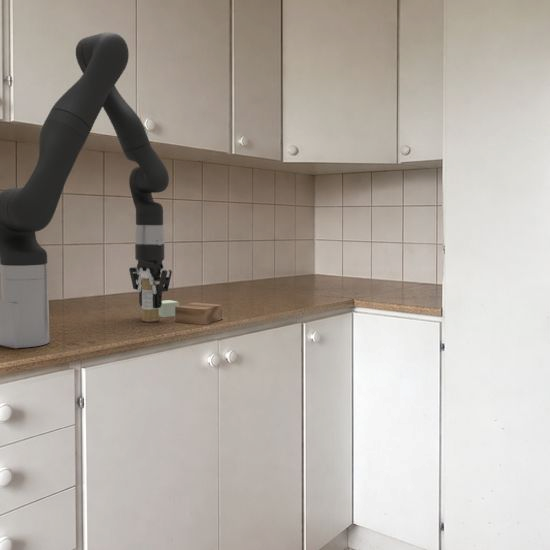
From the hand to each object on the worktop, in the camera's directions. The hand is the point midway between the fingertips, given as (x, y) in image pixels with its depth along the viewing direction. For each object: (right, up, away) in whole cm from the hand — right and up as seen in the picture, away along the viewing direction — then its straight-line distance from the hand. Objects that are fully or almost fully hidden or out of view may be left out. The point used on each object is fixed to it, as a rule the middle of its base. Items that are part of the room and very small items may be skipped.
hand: (150, 306), depth 155 cm
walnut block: (+13, -4, +1) cm, 13 cm away
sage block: (+3, -3, +9) cm, 10 cm away
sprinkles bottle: (0, -4, 0) cm, 4 cm away
